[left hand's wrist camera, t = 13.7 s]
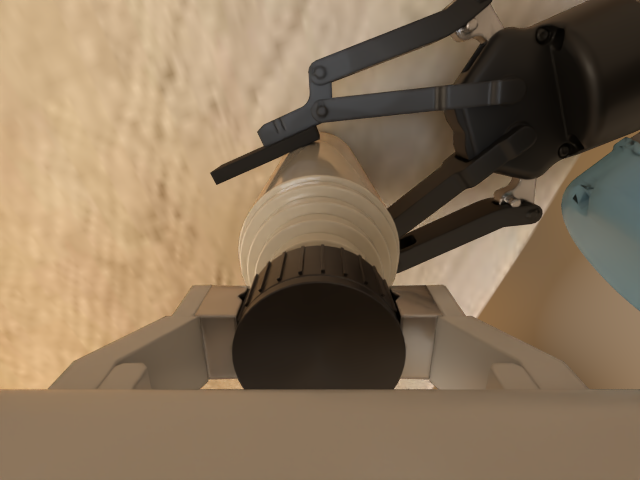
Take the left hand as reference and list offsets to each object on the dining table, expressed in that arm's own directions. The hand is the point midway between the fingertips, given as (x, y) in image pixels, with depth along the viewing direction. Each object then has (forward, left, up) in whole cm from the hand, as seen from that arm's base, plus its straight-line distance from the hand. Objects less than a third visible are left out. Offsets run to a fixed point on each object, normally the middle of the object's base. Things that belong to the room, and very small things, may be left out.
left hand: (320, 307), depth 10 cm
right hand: (-2, +5, -14) cm, 14 cm away
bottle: (0, 0, -20) cm, 20 cm away
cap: (0, 0, +2) cm, 2 cm away
